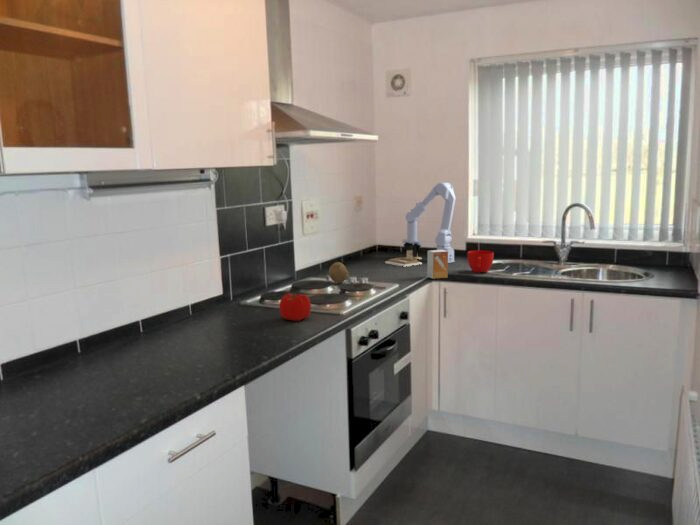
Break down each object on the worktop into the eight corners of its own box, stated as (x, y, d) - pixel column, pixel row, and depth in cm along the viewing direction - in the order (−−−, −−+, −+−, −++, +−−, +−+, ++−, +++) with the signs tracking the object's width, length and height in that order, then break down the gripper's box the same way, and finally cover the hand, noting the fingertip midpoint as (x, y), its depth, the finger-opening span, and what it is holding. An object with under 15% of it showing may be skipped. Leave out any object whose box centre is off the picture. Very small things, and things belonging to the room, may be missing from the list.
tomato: (317, 318, 207) (317, 293, 206) (293, 325, 199) (292, 299, 197) (297, 313, 214) (296, 289, 213) (272, 320, 206) (271, 295, 204)
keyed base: (422, 264, 317) (422, 260, 316) (404, 266, 309) (404, 262, 309) (402, 260, 329) (402, 256, 329) (385, 263, 322) (385, 259, 321)
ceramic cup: (465, 275, 284) (465, 254, 282) (468, 269, 300) (468, 250, 298) (492, 276, 280) (492, 255, 279) (493, 270, 296) (494, 250, 295)
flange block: (414, 258, 339) (414, 249, 338) (421, 259, 335) (422, 250, 334) (402, 259, 333) (402, 251, 332) (409, 261, 329) (409, 252, 328)
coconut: (325, 282, 271) (324, 261, 269) (342, 280, 275) (341, 259, 273) (333, 285, 263) (333, 264, 261) (351, 283, 267) (350, 262, 265)
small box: (433, 279, 275) (433, 252, 273) (426, 276, 281) (427, 250, 279) (448, 277, 278) (448, 251, 276) (441, 275, 284) (442, 249, 282)
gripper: (426, 233, 328) (425, 256, 330) (408, 231, 339) (408, 254, 342) (417, 234, 324) (416, 258, 326) (399, 232, 335) (399, 255, 337)
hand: (412, 256), depth 334 cm, fingers open, 4 cm apart
